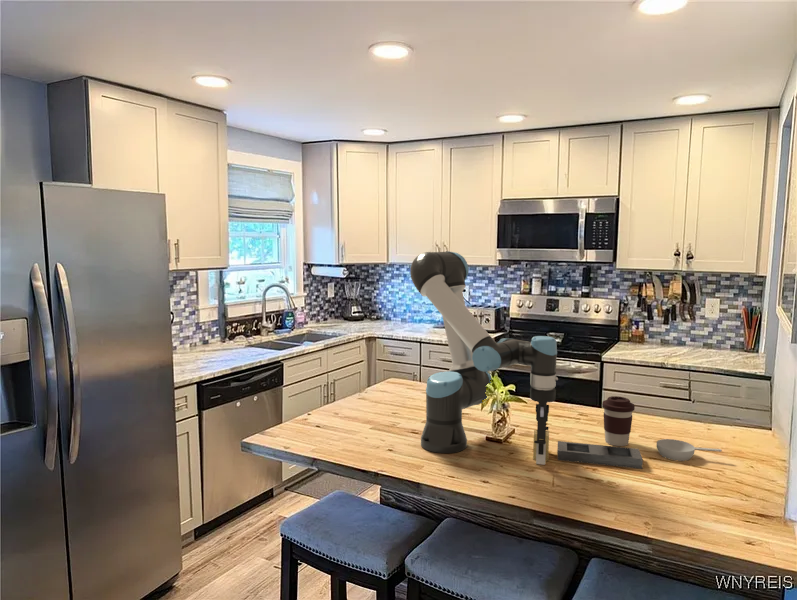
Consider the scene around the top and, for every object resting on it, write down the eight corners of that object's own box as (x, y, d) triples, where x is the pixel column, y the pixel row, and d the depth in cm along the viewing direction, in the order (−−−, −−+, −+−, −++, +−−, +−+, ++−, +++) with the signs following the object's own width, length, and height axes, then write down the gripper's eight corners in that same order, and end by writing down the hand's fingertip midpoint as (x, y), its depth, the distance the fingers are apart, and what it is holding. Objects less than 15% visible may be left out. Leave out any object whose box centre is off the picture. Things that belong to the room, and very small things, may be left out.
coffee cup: (635, 449, 177) (637, 404, 176) (603, 447, 179) (605, 402, 178) (629, 438, 187) (631, 395, 185) (598, 436, 189) (600, 393, 187)
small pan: (654, 447, 179) (655, 436, 179) (717, 455, 173) (718, 443, 172) (657, 459, 169) (657, 447, 169) (723, 468, 163) (724, 456, 162)
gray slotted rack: (557, 460, 169) (557, 450, 168) (557, 450, 177) (557, 441, 176) (642, 469, 162) (642, 459, 162) (638, 458, 170) (638, 448, 170)
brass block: (533, 459, 169) (533, 434, 168) (533, 454, 173) (534, 429, 173) (548, 461, 168) (548, 435, 167) (548, 455, 172) (549, 430, 171)
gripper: (555, 398, 156) (553, 473, 159) (555, 379, 178) (553, 445, 180) (528, 396, 158) (526, 470, 161) (531, 377, 180) (530, 442, 183)
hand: (541, 456), depth 171 cm, fingers open, 10 cm apart
